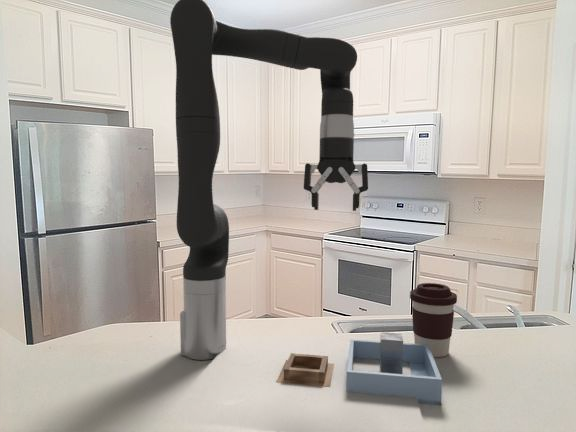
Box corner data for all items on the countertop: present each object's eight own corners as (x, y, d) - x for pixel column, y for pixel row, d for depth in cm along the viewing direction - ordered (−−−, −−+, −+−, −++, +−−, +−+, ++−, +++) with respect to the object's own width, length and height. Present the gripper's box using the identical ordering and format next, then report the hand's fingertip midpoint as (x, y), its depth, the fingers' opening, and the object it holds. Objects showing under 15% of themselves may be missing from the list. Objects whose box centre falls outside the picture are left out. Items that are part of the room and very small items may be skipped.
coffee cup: (400, 351, 94) (402, 286, 93) (420, 340, 101) (422, 279, 100) (444, 364, 87) (446, 294, 86) (462, 351, 94) (464, 285, 93)
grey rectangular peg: (380, 380, 79) (381, 339, 78) (379, 371, 83) (380, 332, 82) (402, 382, 78) (403, 340, 77) (400, 373, 82) (401, 333, 81)
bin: (346, 396, 74) (346, 371, 74) (349, 359, 90) (350, 339, 89) (441, 405, 71) (442, 379, 71) (427, 365, 87) (428, 344, 86)
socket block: (276, 387, 77) (276, 371, 77) (286, 364, 87) (286, 350, 87) (330, 392, 75) (330, 376, 75) (334, 368, 85) (334, 354, 85)
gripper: (302, 135, 90) (301, 210, 91) (369, 134, 88) (367, 212, 89) (307, 139, 98) (306, 208, 99) (369, 138, 95) (367, 210, 96)
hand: (335, 210), depth 94 cm, fingers open, 8 cm apart
